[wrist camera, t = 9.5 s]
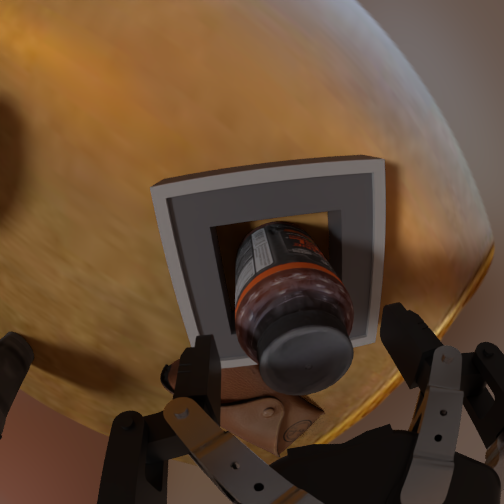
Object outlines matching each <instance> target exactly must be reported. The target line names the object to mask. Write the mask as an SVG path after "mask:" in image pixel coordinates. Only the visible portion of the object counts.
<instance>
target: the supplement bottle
mask: <svg viewBox="0 0 504 504" xmlns="http://www.w3.org/2000/svg"><path fill="white" fill-rule="evenodd" d="M353 322H354V308H353V303H352V300H351V298H350V295H349V293H348V291H347V290H346V288H345V287H344V285H343V283H342V281H341V280H340V278H339V277H338V275H337V274H336V273H335V271H334V269H333V268H332V267H331V265H330V264H329V262H328V261H327V260H326V258H325V257H324V255H323V254H322V252H321V251H320V249H319V248H318V247H317V245H316V243H315V242H314V241H313V239H312V238H311V237H310V236H309V235H308V234H307V233H306V232H305V231H304V230H302V229H301V228H299V227H297V226H295V225H293V224H290V223H285V222H270V223H266V224H263V225H261V226H259V227H257V228H255V229H254V230H252V231H251V232H250V233H248V235H247V236H246V237H245V238H244V239H243V241H242V242H241V244H240V246H239V248H238V252H237V256H236V274H235V328H236V335H237V338H238V342H239V344H240V346H241V348H242V349H243V351H244V352H245V353H246V354H247V356H248V357H250V359H252V360H253V361H254V362H256V363H257V364H259V371H260V375H261V377H262V379H263V381H264V382H265V383H266V385H267V386H269V387H270V388H271V389H273V390H275V391H276V392H279V393H283V394H286V395H308V394H311V393H316V392H319V391H321V390H323V389H326V388H328V387H329V386H331V385H333V384H334V383H336V382H337V381H338V380H339V379H340V378H341V377H342V376H343V375H344V374H345V373H346V372H347V370H348V369H349V367H350V365H351V363H352V359H353V353H354V352H353V346H352V342H351V340H350V338H349V335H350V333H351V330H352V326H353Z"/></svg>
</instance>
